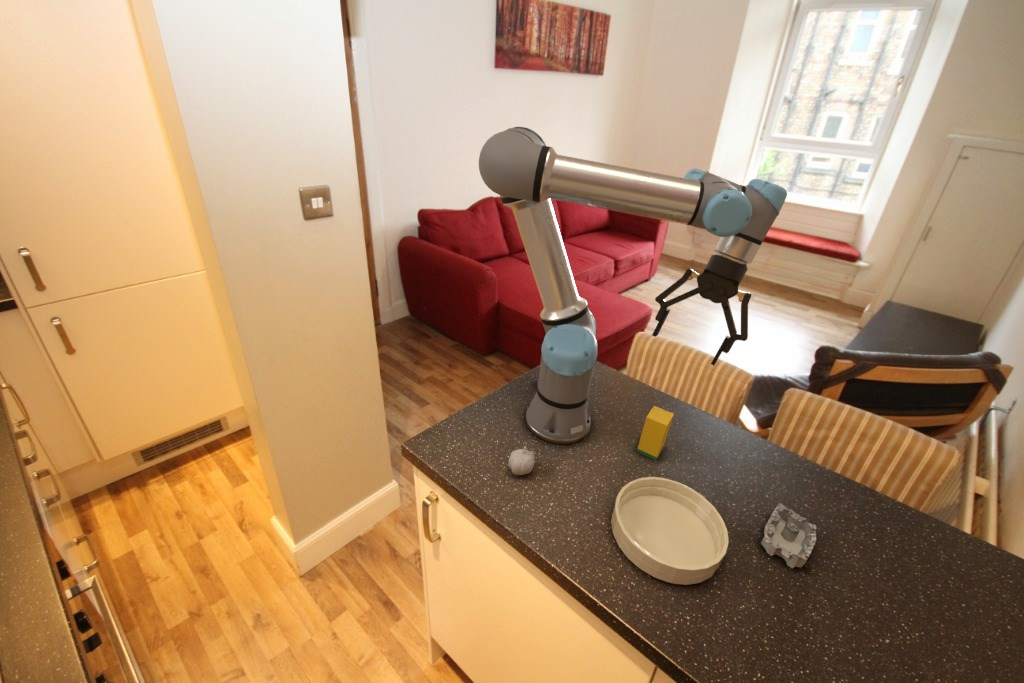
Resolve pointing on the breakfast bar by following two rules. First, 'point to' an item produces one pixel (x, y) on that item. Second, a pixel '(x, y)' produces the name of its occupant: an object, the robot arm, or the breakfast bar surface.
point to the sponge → (654, 432)
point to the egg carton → (789, 536)
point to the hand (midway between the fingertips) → (683, 349)
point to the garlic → (521, 461)
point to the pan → (669, 530)
